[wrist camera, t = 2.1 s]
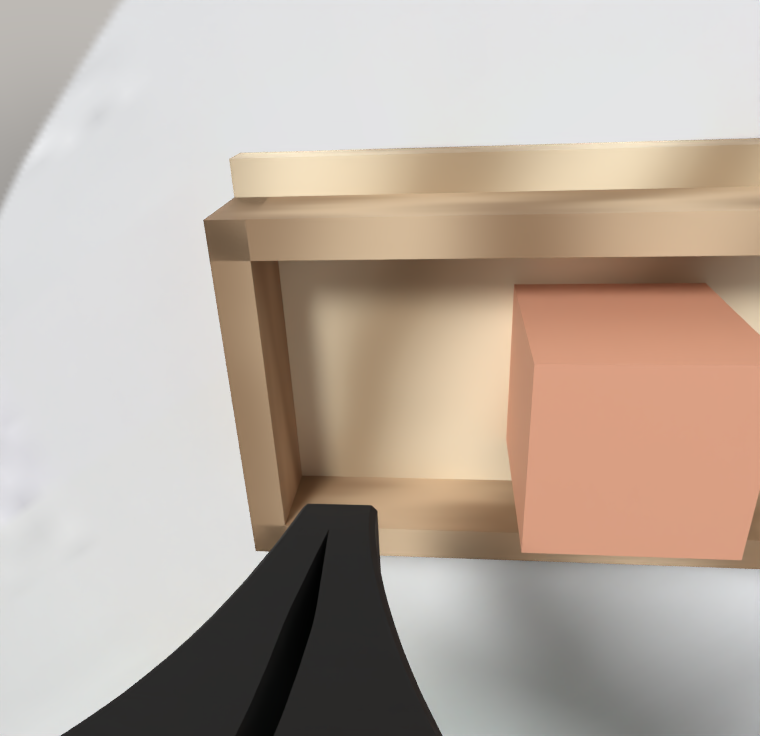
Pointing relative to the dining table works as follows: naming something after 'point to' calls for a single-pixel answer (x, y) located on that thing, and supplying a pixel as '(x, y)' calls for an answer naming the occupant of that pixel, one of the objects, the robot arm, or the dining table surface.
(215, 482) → the dining table surface
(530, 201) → the tray
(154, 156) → the dining table surface
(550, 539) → the block
